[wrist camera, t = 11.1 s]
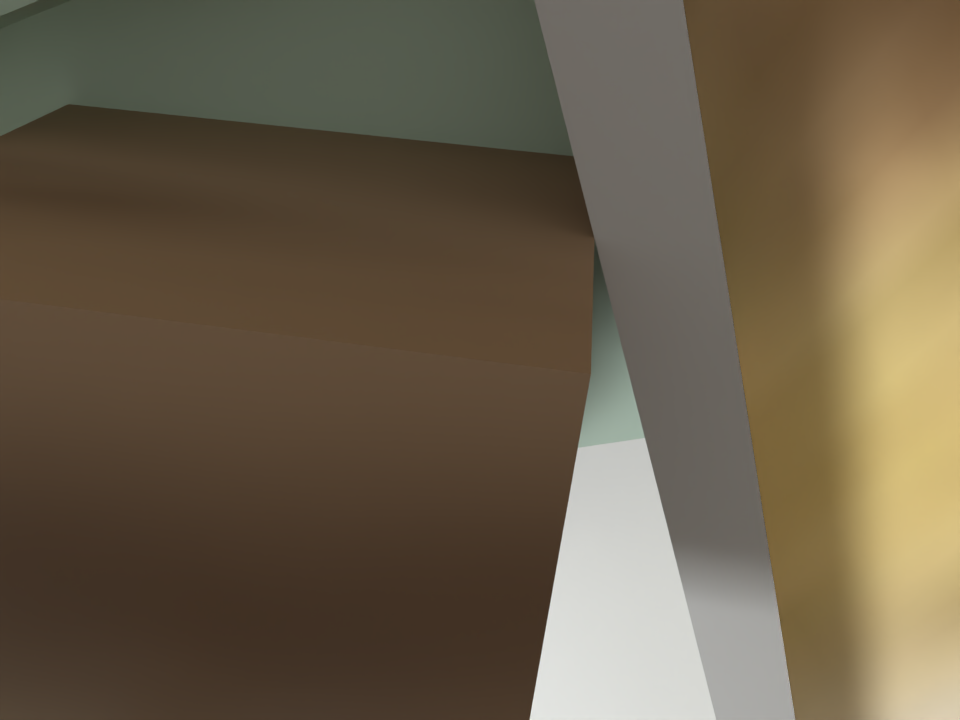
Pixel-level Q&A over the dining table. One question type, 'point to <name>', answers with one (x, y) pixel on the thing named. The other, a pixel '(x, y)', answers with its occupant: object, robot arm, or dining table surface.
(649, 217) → the white board with recesses
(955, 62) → the dining table surface
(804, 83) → the dining table surface
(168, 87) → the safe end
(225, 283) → the block
